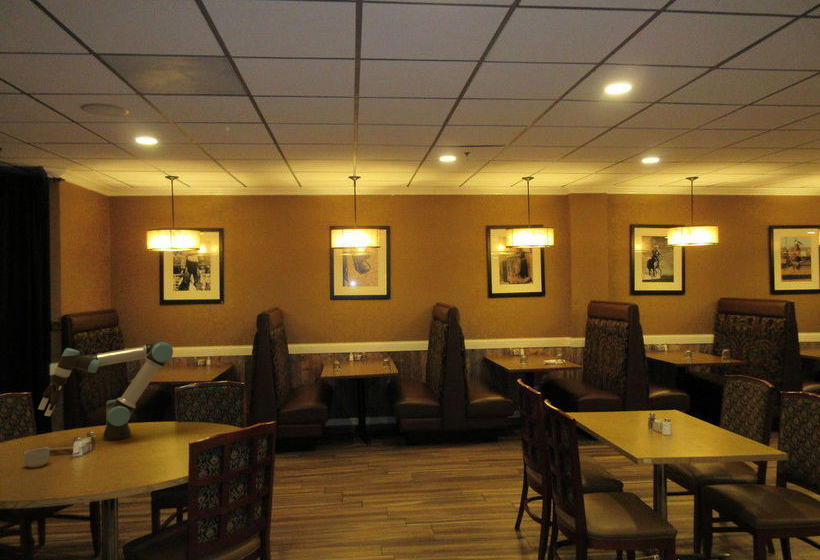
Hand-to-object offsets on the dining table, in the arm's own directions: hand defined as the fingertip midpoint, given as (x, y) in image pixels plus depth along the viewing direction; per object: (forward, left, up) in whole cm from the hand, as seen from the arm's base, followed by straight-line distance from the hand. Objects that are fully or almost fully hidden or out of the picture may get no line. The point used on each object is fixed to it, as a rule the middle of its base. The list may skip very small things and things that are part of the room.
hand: (43, 412), depth 297 cm
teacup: (-9, +23, -22) cm, 33 cm away
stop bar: (-9, +5, -22) cm, 24 cm away
